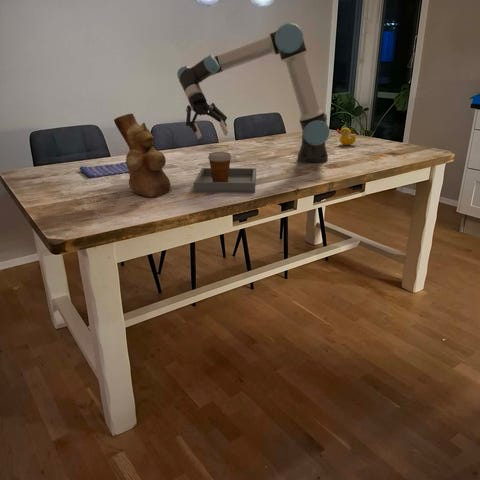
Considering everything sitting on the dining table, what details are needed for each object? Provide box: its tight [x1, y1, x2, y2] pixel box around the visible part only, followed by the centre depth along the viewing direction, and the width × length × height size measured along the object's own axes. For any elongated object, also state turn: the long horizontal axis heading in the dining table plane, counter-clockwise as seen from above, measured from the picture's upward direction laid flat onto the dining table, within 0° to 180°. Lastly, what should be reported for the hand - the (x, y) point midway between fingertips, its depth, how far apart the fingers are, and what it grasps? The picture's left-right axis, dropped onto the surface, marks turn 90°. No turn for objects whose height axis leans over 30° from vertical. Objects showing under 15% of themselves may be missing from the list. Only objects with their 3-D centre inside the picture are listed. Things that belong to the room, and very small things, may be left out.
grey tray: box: [193, 167, 257, 194], centre depth 191 cm, size 24×24×4 cm
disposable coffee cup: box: [207, 151, 232, 182], centre depth 188 cm, size 10×10×12 cm
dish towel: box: [78, 161, 129, 179], centre depth 213 cm, size 17×24×3 cm
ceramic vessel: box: [113, 112, 172, 198], centre depth 177 cm, size 16×22×30 cm
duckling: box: [336, 127, 357, 146], centre depth 266 cm, size 11×5×10 cm, turn 62°
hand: (213, 135), depth 203 cm, fingers open, 13 cm apart
